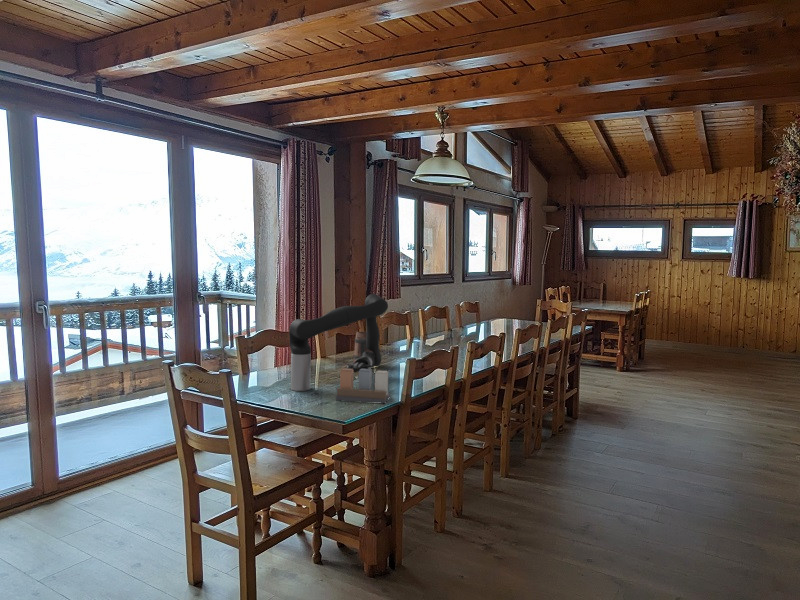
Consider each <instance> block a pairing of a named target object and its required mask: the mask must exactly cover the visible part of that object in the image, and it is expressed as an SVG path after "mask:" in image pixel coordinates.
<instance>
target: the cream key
mask: <svg viewBox="0 0 800 600" xmlns="http://www.w3.org/2000/svg"><path fill="white" fill-rule="evenodd" d="M374 377H375V378H374V390H377V391H386V396H387V395H388V393H389V371H388V370H376V372H375V374H374Z"/></svg>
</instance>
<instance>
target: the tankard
mask: <svg viewBox="0 0 800 600" xmlns="http://www.w3.org/2000/svg"><path fill="white" fill-rule="evenodd" d="M366 334H367V331H356V332H355V338H354V354H353V361H352V362H351V363H350V364H351V365H352V364H353V363H355V361H356V360H357V359H358V358H360V357H362V354H363V353H364V352H365V351H369V352H372V351H371V350H369V349H367V348H366ZM372 367H373V366H372Z"/></svg>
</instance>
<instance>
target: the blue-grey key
mask: <svg viewBox="0 0 800 600" xmlns="http://www.w3.org/2000/svg"><path fill="white" fill-rule="evenodd" d="M372 374H373V370H372V369H360V370H359V372H358V389H363V390H372V385H373V384H372V380H373V378H372V376H373V375H372Z"/></svg>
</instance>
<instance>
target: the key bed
mask: <svg viewBox="0 0 800 600" xmlns="http://www.w3.org/2000/svg"><path fill="white" fill-rule="evenodd" d="M335 396H336V397H335V400H336V401H338V400H343V401H342V402H351V401H361V402H360V403H363V402H381V403H385V402H386V401H387V400H388V398H389V397H390V398H391V392H388V395H387V396H386V391H377V390H375V389H371V390H363V389H359V388H353V389H349V388H340V387H337V389H336V395H335ZM390 398H389V399H390ZM388 401H389V400H388ZM388 401H387V402H388ZM387 402H386V403H387ZM386 403H385V404H386Z"/></svg>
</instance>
